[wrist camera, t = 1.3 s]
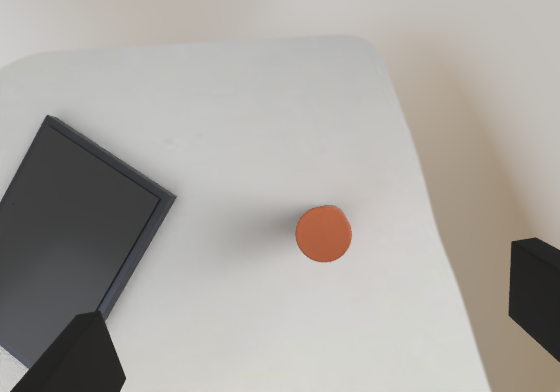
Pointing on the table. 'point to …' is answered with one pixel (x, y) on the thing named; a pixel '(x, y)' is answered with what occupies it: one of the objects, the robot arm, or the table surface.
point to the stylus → (323, 233)
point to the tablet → (69, 236)
